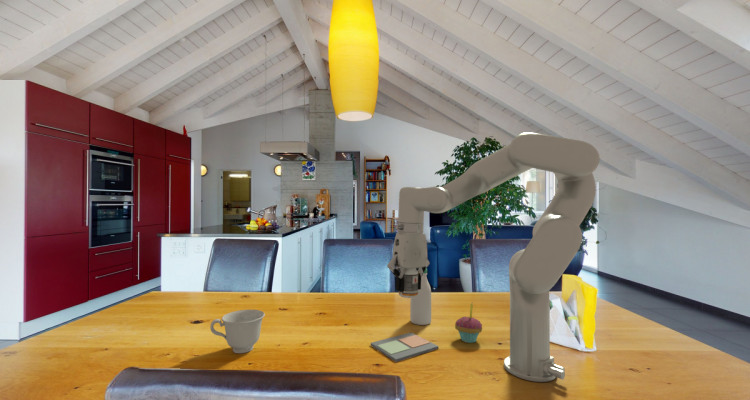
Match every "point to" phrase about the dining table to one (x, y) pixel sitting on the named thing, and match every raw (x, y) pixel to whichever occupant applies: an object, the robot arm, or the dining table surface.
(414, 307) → the milk bottle
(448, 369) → the dining table surface
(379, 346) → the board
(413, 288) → the pill bottle
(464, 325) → the cupcake
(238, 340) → the teacup
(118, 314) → the dining table surface
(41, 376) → the dining table surface
